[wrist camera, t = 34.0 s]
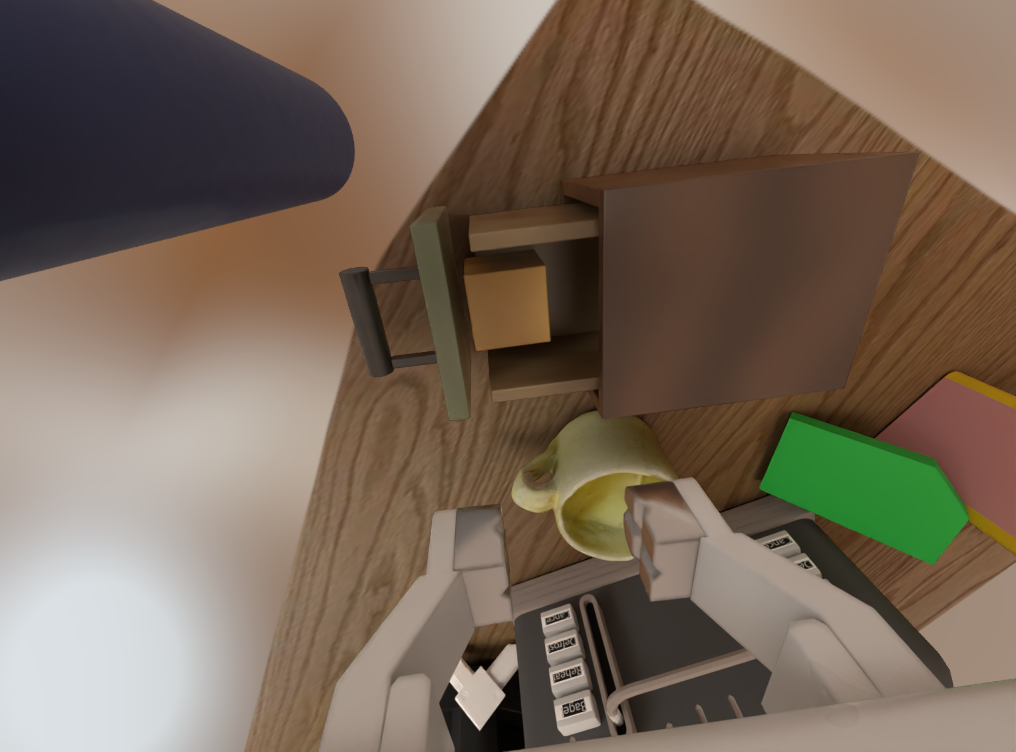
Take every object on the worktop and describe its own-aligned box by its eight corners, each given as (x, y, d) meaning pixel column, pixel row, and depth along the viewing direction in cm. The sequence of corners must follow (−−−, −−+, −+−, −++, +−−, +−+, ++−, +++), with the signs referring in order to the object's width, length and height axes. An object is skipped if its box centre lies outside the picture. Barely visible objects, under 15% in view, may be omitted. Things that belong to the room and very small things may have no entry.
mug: (703, 417, 32) (724, 533, 25) (634, 481, 39) (635, 587, 32) (561, 356, 32) (541, 458, 24) (516, 432, 38) (490, 529, 31)
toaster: (787, 452, 37) (1009, 656, 22) (812, 648, 53) (949, 845, 38) (485, 562, 41) (493, 802, 26) (594, 714, 57) (638, 918, 42)
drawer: (392, 369, 30) (367, 432, 23) (351, 216, 25) (304, 237, 18) (625, 339, 30) (670, 393, 23) (630, 183, 25) (690, 191, 18)
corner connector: (479, 610, 50) (481, 605, 49) (529, 663, 47) (531, 660, 46) (429, 666, 46) (428, 662, 45) (479, 731, 42) (480, 728, 41)
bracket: (789, 418, 34) (801, 389, 39) (758, 488, 38) (773, 454, 42) (994, 487, 28) (978, 442, 32) (933, 565, 31) (926, 514, 36)
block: (474, 324, 27) (475, 352, 23) (464, 258, 25) (462, 275, 21) (540, 316, 27) (551, 341, 24) (534, 249, 25) (546, 265, 21)
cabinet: (566, 349, 31) (602, 420, 22) (560, 180, 25) (603, 189, 17) (743, 327, 31) (844, 388, 23) (774, 154, 26) (921, 151, 17)
